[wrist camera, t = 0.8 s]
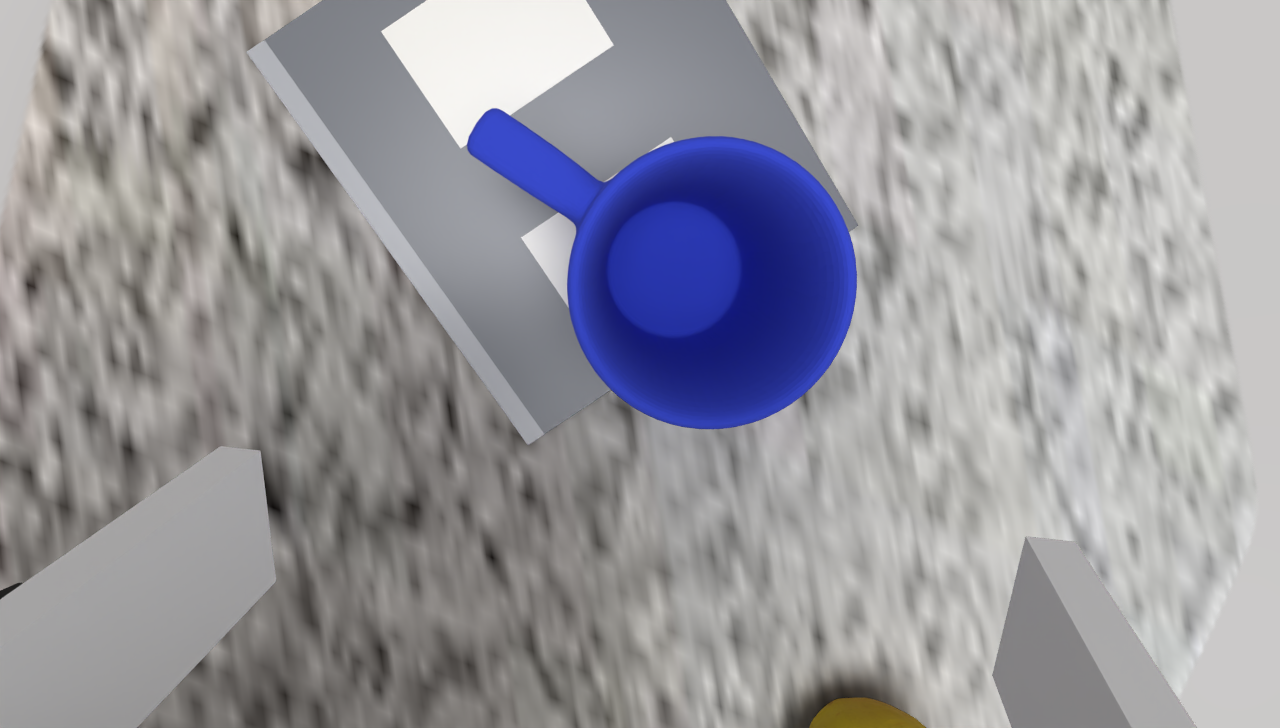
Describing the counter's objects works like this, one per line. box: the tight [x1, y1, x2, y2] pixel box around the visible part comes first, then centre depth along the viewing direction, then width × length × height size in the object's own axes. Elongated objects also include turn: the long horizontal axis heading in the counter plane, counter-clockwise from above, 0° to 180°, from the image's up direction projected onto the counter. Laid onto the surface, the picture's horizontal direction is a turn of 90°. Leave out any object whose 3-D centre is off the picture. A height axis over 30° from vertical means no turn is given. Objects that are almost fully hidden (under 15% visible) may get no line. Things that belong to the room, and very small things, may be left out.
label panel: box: [247, 0, 858, 445], centre depth 32 cm, size 16×18×1 cm
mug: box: [467, 108, 857, 429], centre depth 28 cm, size 8×12×10 cm
